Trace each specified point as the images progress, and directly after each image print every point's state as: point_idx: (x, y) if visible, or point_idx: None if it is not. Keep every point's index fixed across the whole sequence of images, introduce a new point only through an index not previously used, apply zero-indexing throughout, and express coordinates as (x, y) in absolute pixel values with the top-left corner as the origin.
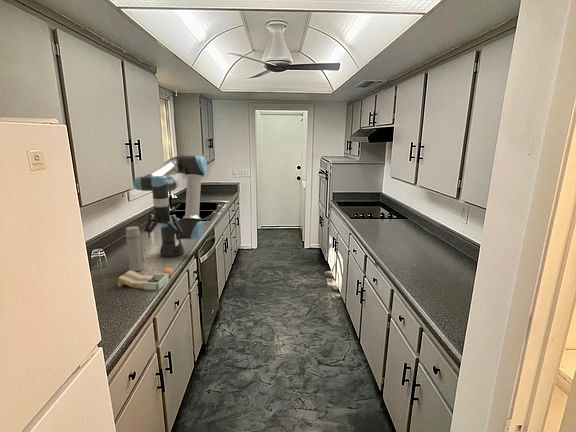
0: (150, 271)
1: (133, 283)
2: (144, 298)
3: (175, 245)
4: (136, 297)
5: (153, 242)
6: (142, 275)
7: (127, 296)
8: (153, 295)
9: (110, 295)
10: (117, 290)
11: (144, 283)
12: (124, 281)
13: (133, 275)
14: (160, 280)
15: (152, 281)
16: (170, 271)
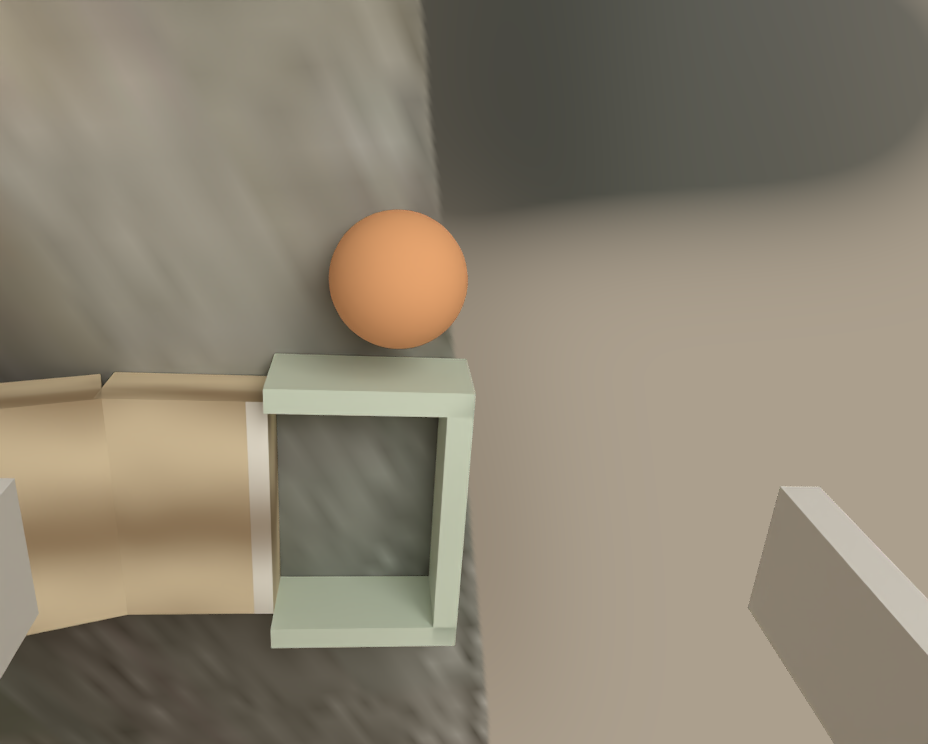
0: (28, 93)
1: (135, 610)
2: (393, 731)
3: (764, 620)
4: (309, 727)
5: (4, 570)
6: (96, 417)
7: (211, 724)
8: (449, 679)
9: (29, 731)
10: None
11: (291, 642)
12: None
13: None
14: (448, 573)
15: (276, 428)
16: (460, 307)
